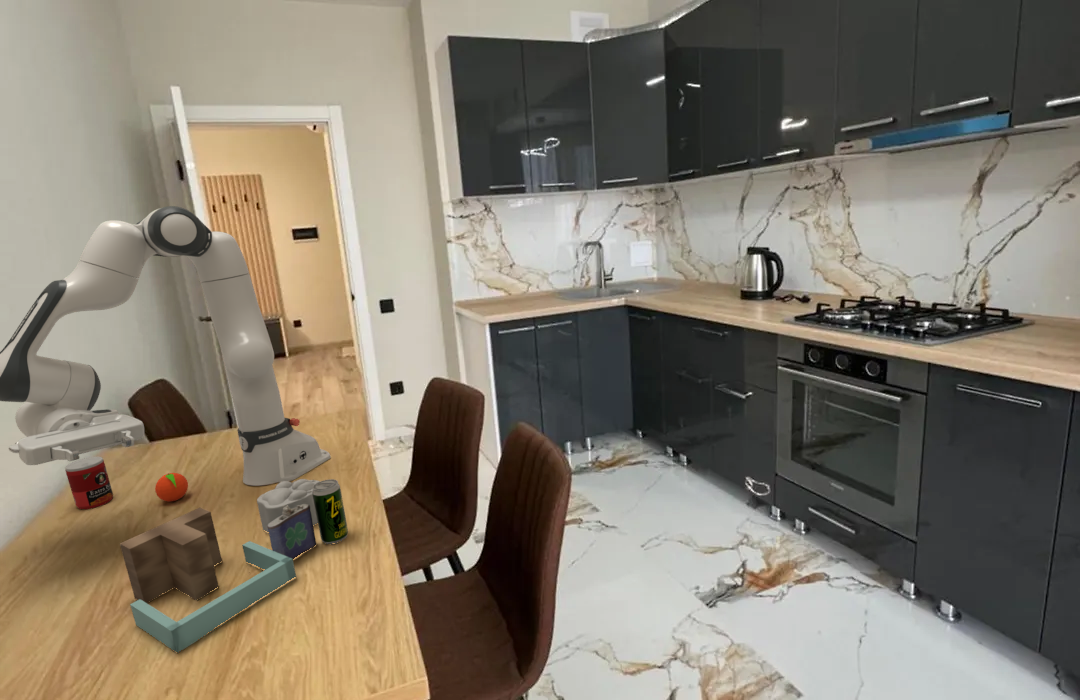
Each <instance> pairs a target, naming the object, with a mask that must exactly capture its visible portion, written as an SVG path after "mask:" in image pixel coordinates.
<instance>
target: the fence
mask: <svg viewBox="0 0 1080 700" xmlns="http://www.w3.org/2000/svg"><path fill="white" fill-rule="evenodd" d="M241 547H242V551H243V556H244V560H245V563H246V562H248V563H251V564H254V565H256V566H258V567H260V568H262V569H265V570H264V571H261V572H259V573H258V574H256V575H254V576H253V577H251V578H249V579H247V580H245V581H244V582H243V583H240V584H239V585H237V586H235V587H234V588H232V589H230V590H229V591H227V592H225V593H224V594H222V595H220V596H218V597H217V598H215V599H213V600H212V601H210V602H209V603H207V604H205V605H203V606H201V607H200V608H197V610H195V611H193V612H191V613H190V614H188V615H186V616H184V617H183V618H181V619H179V620H176V621H175V620H174V619H172V617H170V616H168V615H166V614H164V613H163V612H162V611H160V610H158V609H156V608H155V607H154V606H152V605H151V604H149V603H145V602H144V601H142V600H141V599H139V600H137V599H136V601H133V602H132V603H130V604H129V605H130V609H131V612H132V616H133V619H134V623H135V625H136V627H138V628H140V629H141V630H142V629H143V630H142V631H144V632H145V631H146V633H147V634H148V633H149V634H148V635H150V636H151V635H152V636H151V637H153V638H154V637H155V638H154V639H156V640H157V641H159V642H160V641H161V642H162V644H163V643H164V644H165V645H164V644H163V645H164V646H166V647H168V648H169V649H170V648H171V649H170V650H172V651H173V650H174V652H175V651H176V652H178V653H180V652H182V651H183V650H184V649H186V648H188V647H189V646H192V645H193V644H194V643H196V642H197V641H199V640H201V639H202V638H204V637H205V636H207V635H208V634H207V633H208V632H210V631H212V630H213V629H214V628H215V627H217V626H218V625H220V624H221V623H223V622H225V621H226V620H228V619H229V618H231V617H232V616H234V615H235V614H237V613H239V612H240V611H242V610H243V609H245V608H247V607H248V606H249V605H251V604H252V603H254V602H255V601H257V600H259V599H260V598H262V597H263V596H265V595H267V594H268V593H270V592H272V591H273V590H275V589H277V588H278V587H280V586H281V585H283V584H285V583H286V582H287V581H289V580H291V579H292V578H294V577H296V578H297V574H296V569H295V565H294V561H293V559H292V558H289V557H287V556H285V555H282V554H280V553H277V552H275V551H272V549H269V548H268V547H265V546H263V545H260V544H258V543H255V542H253V541H251V540H249V541H247V542H245V543H243V544H242V546H241ZM213 631H214V630H213ZM213 631H212V632H213ZM210 633H211V632H210ZM206 634H207V635H206ZM204 635H205V636H204ZM203 636H204V637H203ZM201 637H202V638H201ZM200 638H201V639H200ZM198 639H199V640H198ZM161 642H160V643H161ZM181 650H182V651H181ZM179 651H180V652H179ZM176 652H175V653H176Z"/></svg>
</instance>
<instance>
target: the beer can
mask: <svg viewBox="0 0 1080 700" xmlns="http://www.w3.org/2000/svg"><path fill="white" fill-rule="evenodd" d="M312 488H313V491H312V495H313V500H314V505H315V510H316V515H317V521H318V524H317V525H318V531H319V536H320V540H321V542H324V543H323V544H325V543H326V544H325V545H328V544H331V545H333V544H332V543H336V544H338V543H337V542H339V541H341V542H343V541H344V540H343V539H345V538H346V539H347V537H348V534H349V528H348V522H347V518H346V512H345V505H344V501H343V495H342V490H341V485H340V484H339V481H338V479H337V480H336V479H329V478H328V479H324V480H320V482H318V483H316V484H315V485H314V486H313V487H312ZM346 539H345V540H346ZM342 540H343V541H342ZM339 543H340V542H339Z"/></svg>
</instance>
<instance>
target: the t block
mask: <svg viewBox="0 0 1080 700" xmlns="http://www.w3.org/2000/svg"><path fill="white" fill-rule="evenodd" d="M214 525H215V524H214V521H213V517H212V512H211V511H209V510H208V509H205V508H203V507H198V508H195V509H193V510H191V511H189V512H186V513H185V514H182V515H180V516H179V517H176V518H173V519H171V520H169V521H167V522H164V523H163V524H160V525H158V526H156V527H154V528H151V529H149V530H146V531H144V532H142V533H140V534H138V535H135V536H133V537H130V538H129V539H127V540H124V541H123V542H120V543H119V546H120V549H121V553H122V554H121V555H122V557H123V561H124V564H125V568H126V572H127V575H128V578H129V582H130V586H131V589H132V592H133V596H134V599H136V601H137V600H139V599H141V600H142V601H144V602H145V603H147V604H149V603H150V602H152V601H153V600H152V599H154V598H156V597H157V598H159V597H160V596H159V595H161V594H162V593H165V592H167V591H168V590H170V589H172V588H174V587H175V588H177V589H178V590H177V589H176V590H177V591H179V590H180V591H181V592H180V591H179V592H180V593H182V592H183V593H182V594H184V593H185V594H184V595H186V594H187V595H189V596H190V598H191V597H192V598H191V599H193V598H194V599H193V600H194V601H196V600H197V599H199V598H201V597H202V598H204V597H205V596H204V595H206V594H207V593H209V592H210V591H212V590H214V589H215V588H217V587H219V588H220V586H219V582H218V578H217V574H216V569H215V567H214V565H216V564H217V563H220V562H221V561H222V562H223V559H222V555H221V551H220V546H219V543H218V537H217V533H216V530H215V526H214ZM220 564H221V563H220ZM175 588H174V589H175ZM172 590H173V589H172ZM170 591H171V590H170ZM167 593H168V592H167ZM165 594H166V593H165ZM209 594H210V593H209ZM187 595H186V596H187ZM158 596H159V597H158ZM161 596H162V595H161ZM189 596H188V597H189ZM203 596H204V597H203ZM206 596H207V595H206ZM157 598H156V599H157ZM202 598H201V599H202ZM151 600H152V601H151ZM154 600H155V599H154ZM199 600H200V599H199ZM149 601H150V602H149ZM197 601H198V600H197Z"/></svg>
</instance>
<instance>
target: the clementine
mask: <svg viewBox="0 0 1080 700" xmlns="http://www.w3.org/2000/svg"><path fill="white" fill-rule="evenodd" d="M154 490H155V491H154V492H155V493H156V497H158V499H160V500H162V501H164V502H169V503H172V502H176V501H177V500H180V499H182V498H183V496H185V495H186V494H187V492H188V490H189V482H188V480H187V478H186V477H185V476H184V475H182V474H181V473H178V472H169V473H166V474H164V475H162V476H160V478H159V479H158V480H157V482H156V483H155V486H154Z"/></svg>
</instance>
